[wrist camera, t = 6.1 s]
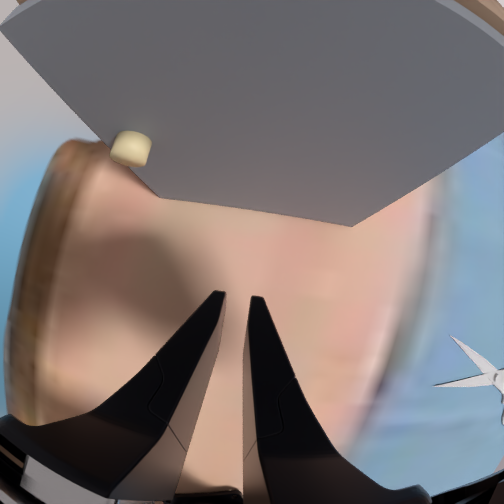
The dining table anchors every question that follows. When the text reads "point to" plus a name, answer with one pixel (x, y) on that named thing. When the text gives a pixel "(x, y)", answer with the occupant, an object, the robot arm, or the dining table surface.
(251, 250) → the dining table surface
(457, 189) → the dining table surface
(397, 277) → the dining table surface
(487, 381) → the scissors
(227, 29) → the flap
